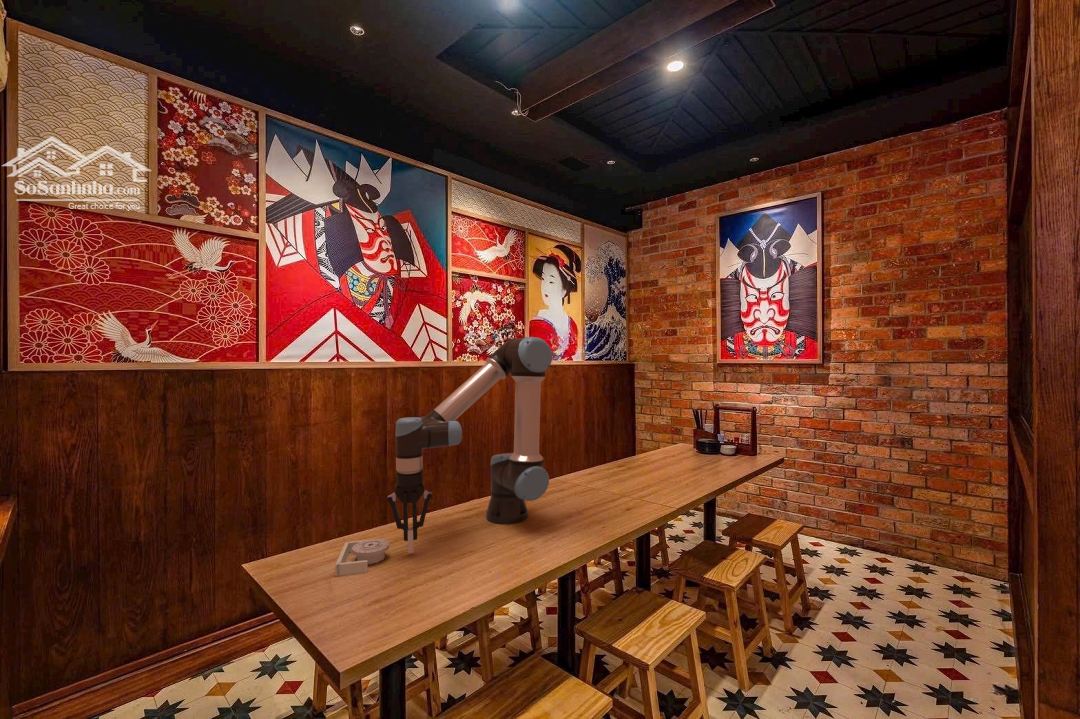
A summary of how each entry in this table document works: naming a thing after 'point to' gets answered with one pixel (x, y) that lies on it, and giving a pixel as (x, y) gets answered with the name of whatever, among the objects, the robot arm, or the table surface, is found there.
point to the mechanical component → (371, 550)
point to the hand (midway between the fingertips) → (410, 550)
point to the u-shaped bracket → (349, 567)
